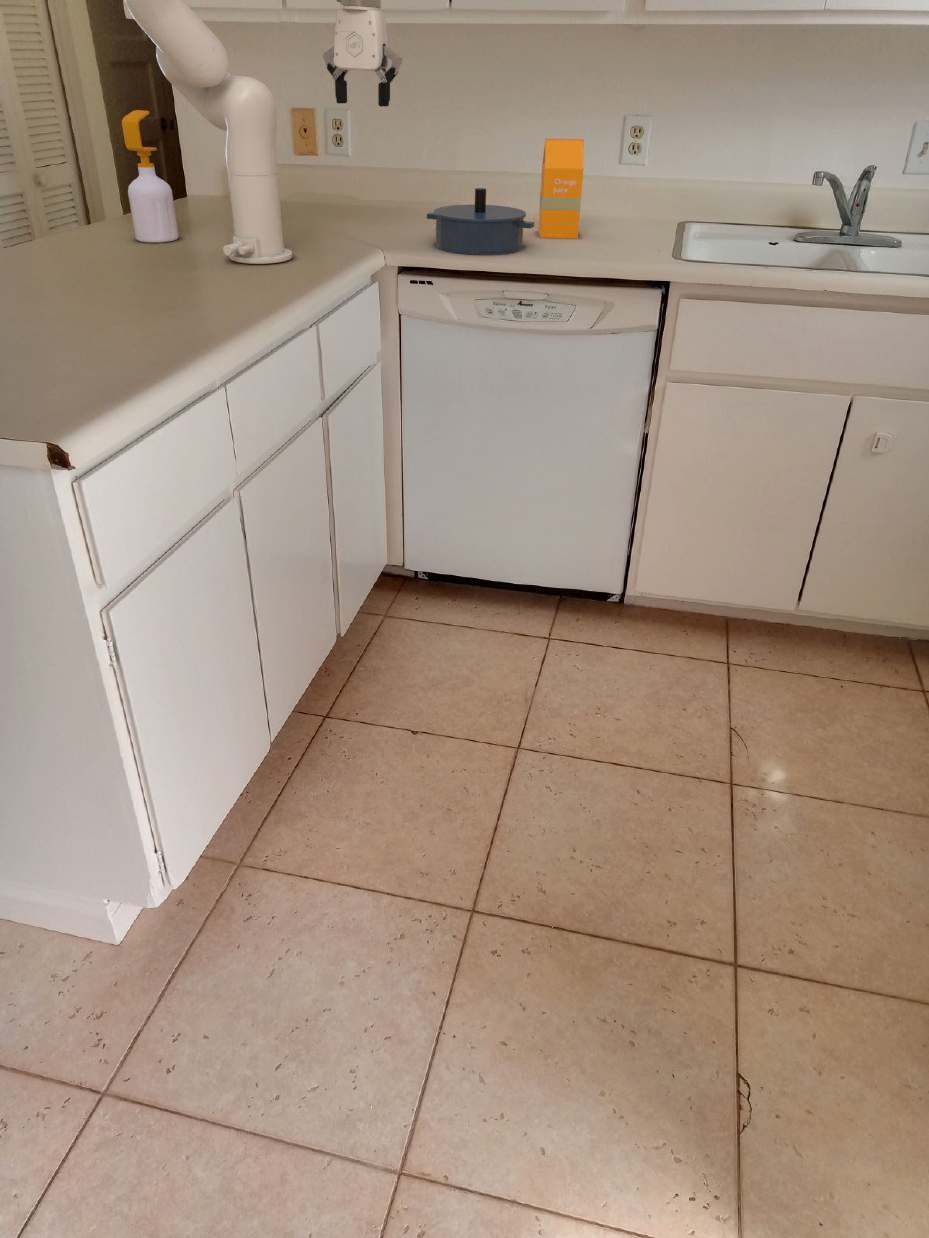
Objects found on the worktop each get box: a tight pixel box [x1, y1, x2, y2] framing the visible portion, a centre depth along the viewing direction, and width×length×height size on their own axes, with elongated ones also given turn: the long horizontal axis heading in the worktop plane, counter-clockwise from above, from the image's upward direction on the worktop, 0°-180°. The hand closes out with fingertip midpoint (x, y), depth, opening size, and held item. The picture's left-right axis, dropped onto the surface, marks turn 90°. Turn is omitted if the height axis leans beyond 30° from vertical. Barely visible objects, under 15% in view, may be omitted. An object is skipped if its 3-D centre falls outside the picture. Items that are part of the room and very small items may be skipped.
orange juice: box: [537, 138, 584, 239], centre depth 204 cm, size 8×9×20 cm
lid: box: [433, 187, 527, 222], centre depth 191 cm, size 20×20×6 cm
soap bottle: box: [121, 109, 179, 244], centre depth 188 cm, size 9×9×25 cm
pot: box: [426, 211, 535, 256], centre depth 194 cm, size 19×24×6 cm
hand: (362, 104), depth 179 cm, fingers open, 9 cm apart
